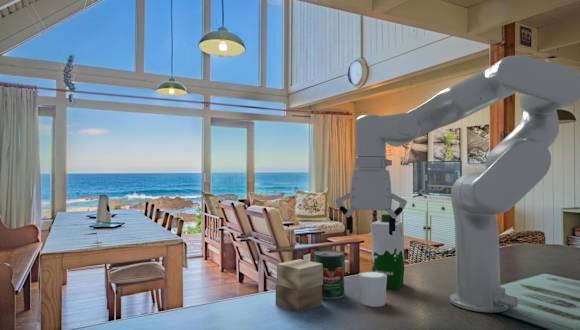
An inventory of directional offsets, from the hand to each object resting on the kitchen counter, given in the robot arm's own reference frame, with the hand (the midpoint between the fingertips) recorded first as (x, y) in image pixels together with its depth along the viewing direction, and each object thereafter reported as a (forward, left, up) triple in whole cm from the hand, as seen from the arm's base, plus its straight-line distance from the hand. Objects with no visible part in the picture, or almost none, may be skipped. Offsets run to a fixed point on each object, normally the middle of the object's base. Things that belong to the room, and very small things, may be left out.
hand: (370, 233), depth 93 cm
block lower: (+9, +16, -17) cm, 25 cm away
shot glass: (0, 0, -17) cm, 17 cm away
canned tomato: (+11, +4, -17) cm, 21 cm away
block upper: (+9, +15, -12) cm, 21 cm away
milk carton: (+9, -15, -17) cm, 25 cm away
